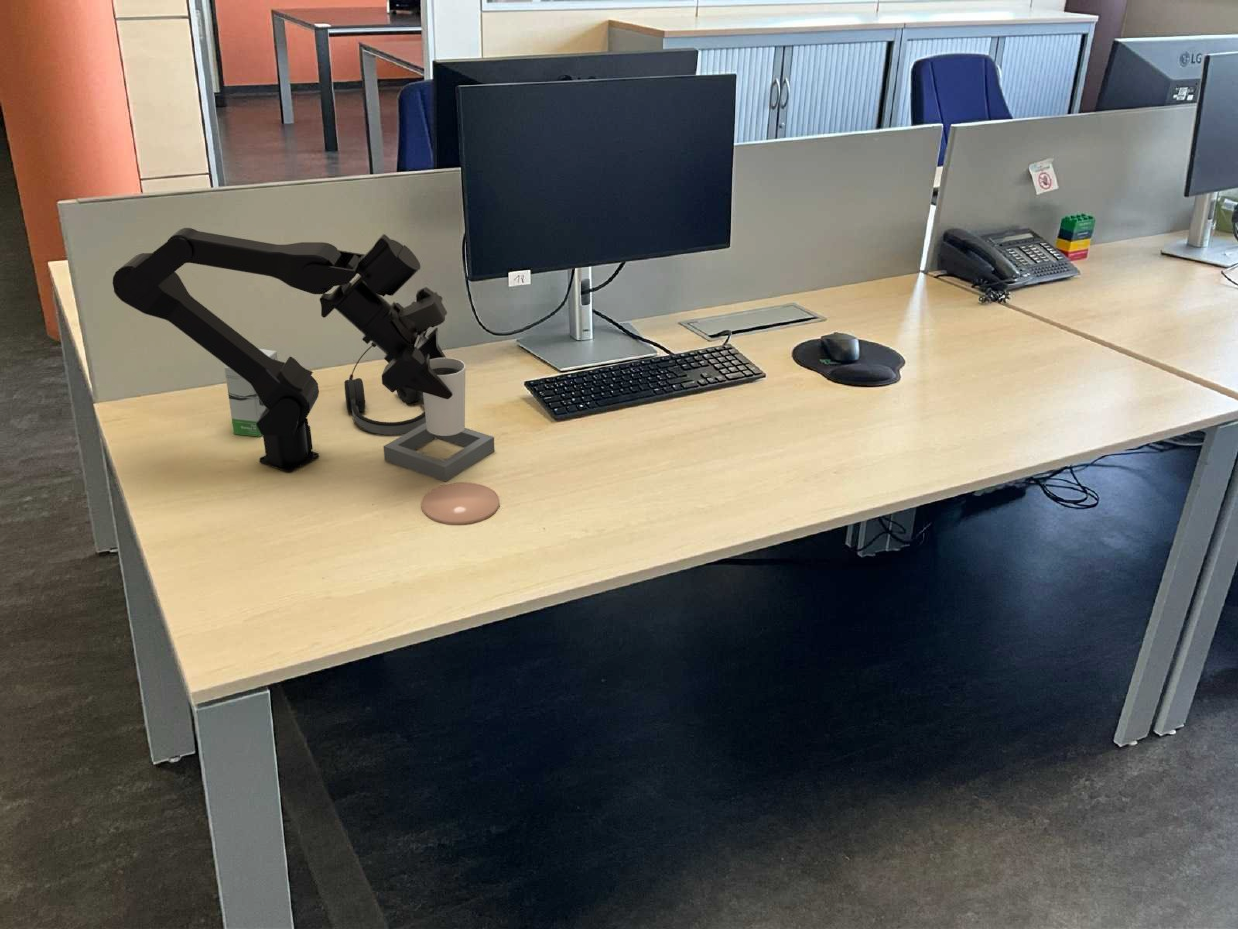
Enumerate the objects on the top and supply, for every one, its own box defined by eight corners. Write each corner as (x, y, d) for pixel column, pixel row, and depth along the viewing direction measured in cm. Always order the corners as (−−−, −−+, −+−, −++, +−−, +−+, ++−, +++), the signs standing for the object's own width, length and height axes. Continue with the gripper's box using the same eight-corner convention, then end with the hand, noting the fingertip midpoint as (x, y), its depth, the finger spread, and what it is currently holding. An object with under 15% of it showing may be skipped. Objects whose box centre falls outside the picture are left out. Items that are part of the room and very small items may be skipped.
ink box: (260, 438, 172) (251, 369, 167) (232, 434, 173) (221, 365, 168) (286, 415, 180) (277, 348, 174) (258, 411, 181) (249, 345, 175)
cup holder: (445, 481, 162) (444, 467, 160) (384, 460, 167) (383, 446, 166) (494, 451, 171) (494, 436, 170) (435, 431, 176) (434, 417, 175)
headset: (407, 333, 187) (442, 387, 173) (408, 379, 193) (442, 436, 179) (331, 344, 182) (361, 400, 168) (335, 391, 187) (364, 450, 173)
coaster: (467, 532, 149) (466, 529, 149) (405, 509, 154) (405, 506, 154) (514, 499, 158) (514, 495, 157) (454, 478, 163) (454, 475, 162)
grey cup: (450, 413, 168) (447, 353, 164) (476, 428, 164) (474, 367, 159) (414, 426, 164) (410, 365, 159) (441, 441, 160) (438, 379, 155)
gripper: (400, 301, 145) (485, 378, 150) (419, 257, 161) (495, 329, 167) (345, 354, 148) (430, 428, 154) (370, 306, 165) (446, 375, 170)
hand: (453, 387), depth 161 cm, fingers closed on grey cup, 6 cm apart
